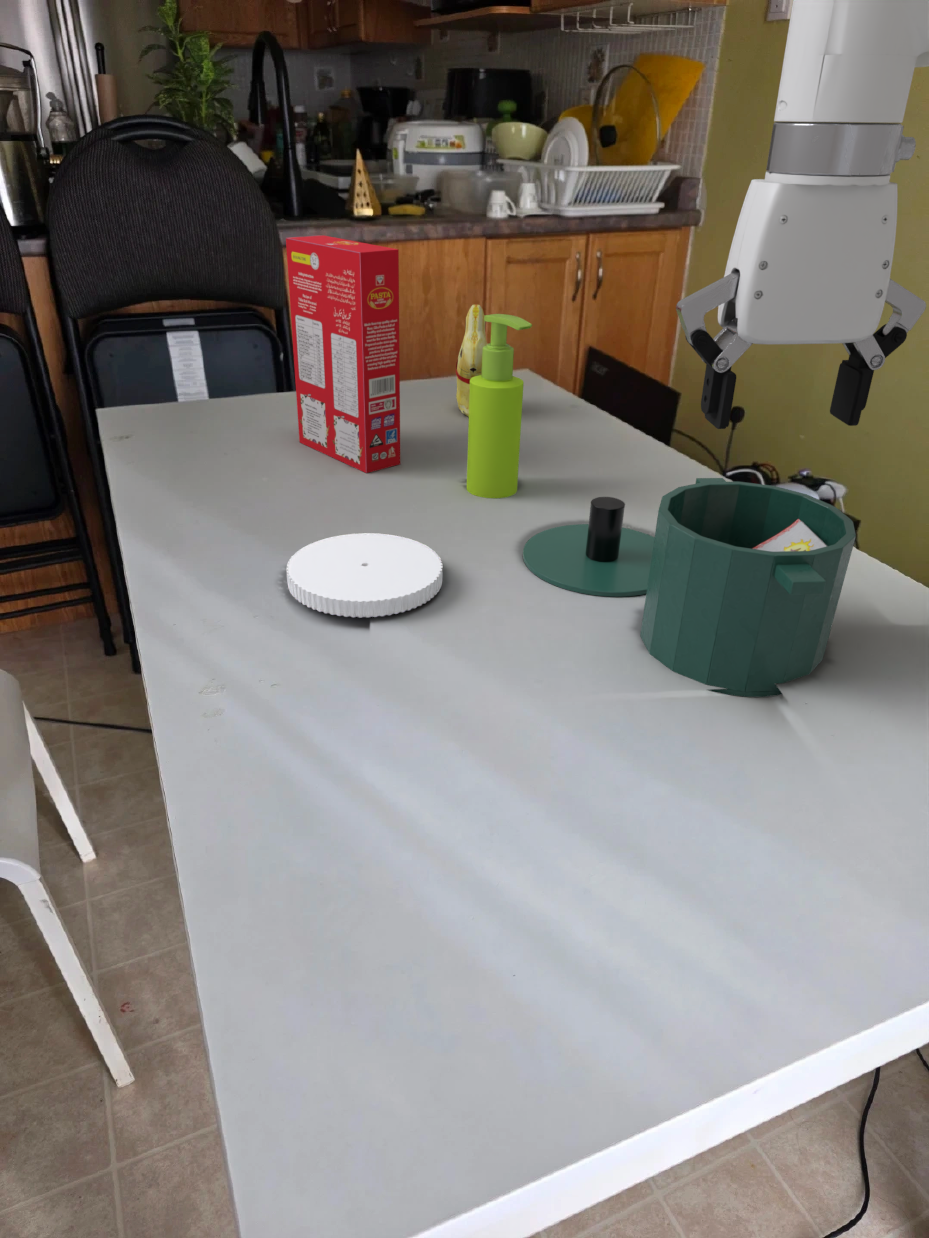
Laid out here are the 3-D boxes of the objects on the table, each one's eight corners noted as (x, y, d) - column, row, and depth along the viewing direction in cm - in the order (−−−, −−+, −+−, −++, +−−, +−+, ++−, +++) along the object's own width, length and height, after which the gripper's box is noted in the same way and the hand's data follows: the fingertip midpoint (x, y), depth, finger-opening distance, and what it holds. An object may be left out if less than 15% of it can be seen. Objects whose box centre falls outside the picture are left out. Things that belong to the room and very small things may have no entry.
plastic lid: (418, 637, 74) (418, 611, 72) (262, 614, 76) (260, 589, 75) (458, 566, 86) (458, 543, 84) (322, 549, 88) (320, 525, 87)
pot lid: (654, 532, 94) (662, 473, 91) (702, 600, 81) (714, 534, 78) (511, 534, 93) (515, 474, 89) (537, 604, 79) (542, 537, 76)
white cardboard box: (738, 621, 77) (816, 530, 73) (767, 663, 71) (854, 566, 67) (706, 603, 75) (784, 509, 72) (733, 644, 70) (819, 544, 66)
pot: (763, 590, 83) (790, 469, 77) (868, 714, 66) (913, 570, 60) (614, 594, 82) (629, 470, 76) (681, 721, 64) (708, 574, 58)
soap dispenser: (497, 509, 98) (506, 324, 89) (456, 491, 103) (460, 313, 93) (533, 497, 102) (546, 318, 92) (492, 480, 106) (500, 307, 96)
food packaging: (400, 464, 110) (398, 249, 98) (366, 473, 107) (360, 252, 95) (332, 434, 120) (323, 235, 107) (299, 442, 117) (285, 238, 104)
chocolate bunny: (453, 420, 127) (455, 312, 120) (456, 399, 137) (459, 297, 129) (500, 422, 127) (506, 313, 120) (500, 400, 137) (505, 299, 129)
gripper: (926, 155, 60) (867, 404, 68) (678, 154, 58) (649, 409, 67) (995, 160, 53) (920, 435, 62) (718, 159, 52) (680, 441, 60)
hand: (779, 421), depth 64 cm, fingers open, 9 cm apart
